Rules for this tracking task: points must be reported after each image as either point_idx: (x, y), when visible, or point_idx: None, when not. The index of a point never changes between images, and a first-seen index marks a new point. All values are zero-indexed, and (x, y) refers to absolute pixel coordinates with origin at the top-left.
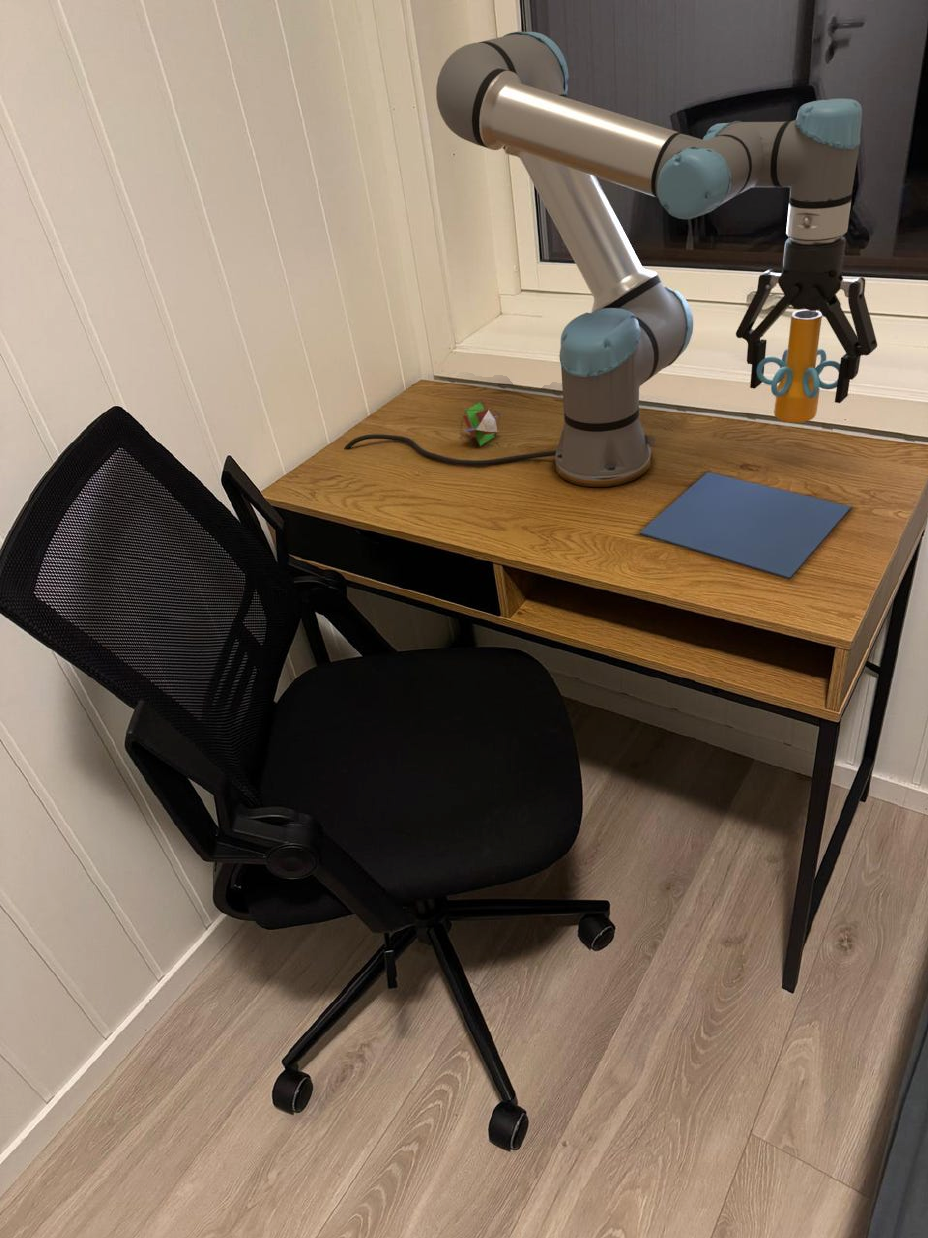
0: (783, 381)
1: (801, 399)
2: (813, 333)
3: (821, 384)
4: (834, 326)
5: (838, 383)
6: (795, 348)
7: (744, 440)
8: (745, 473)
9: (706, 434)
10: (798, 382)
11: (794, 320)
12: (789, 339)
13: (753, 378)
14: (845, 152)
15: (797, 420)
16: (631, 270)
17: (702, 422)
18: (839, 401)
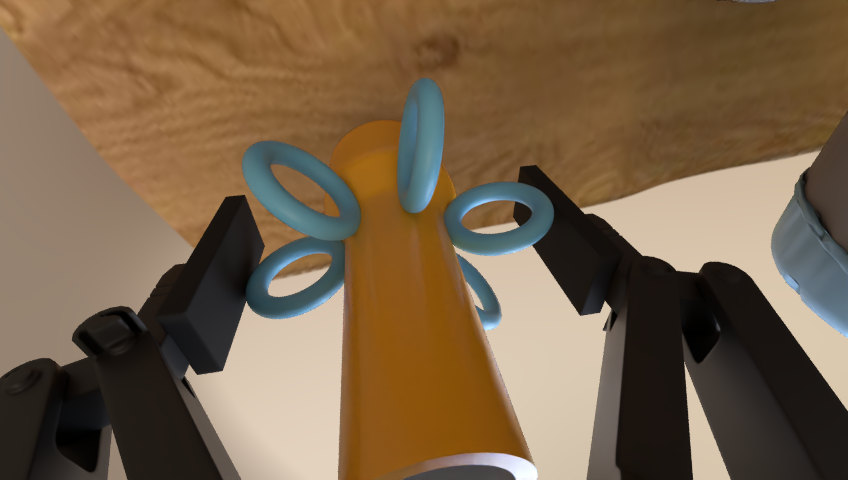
0: (433, 194)
1: (346, 161)
2: (347, 386)
3: (318, 240)
4: (189, 476)
5: (219, 233)
6: (418, 282)
7: (495, 160)
8: (432, 18)
9: (572, 145)
10: (373, 196)
11: (485, 429)
12: (473, 318)
13: (541, 181)
14: None
15: (350, 131)
16: None
17: (591, 183)
18: (226, 199)
